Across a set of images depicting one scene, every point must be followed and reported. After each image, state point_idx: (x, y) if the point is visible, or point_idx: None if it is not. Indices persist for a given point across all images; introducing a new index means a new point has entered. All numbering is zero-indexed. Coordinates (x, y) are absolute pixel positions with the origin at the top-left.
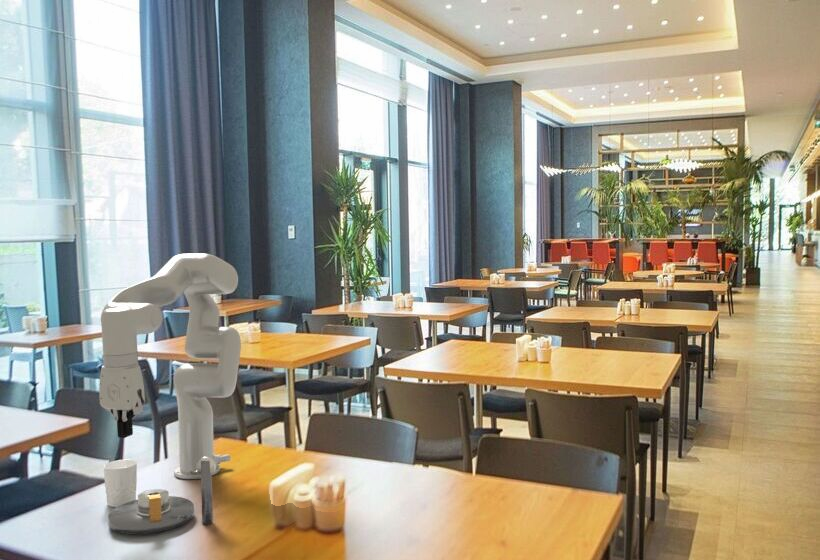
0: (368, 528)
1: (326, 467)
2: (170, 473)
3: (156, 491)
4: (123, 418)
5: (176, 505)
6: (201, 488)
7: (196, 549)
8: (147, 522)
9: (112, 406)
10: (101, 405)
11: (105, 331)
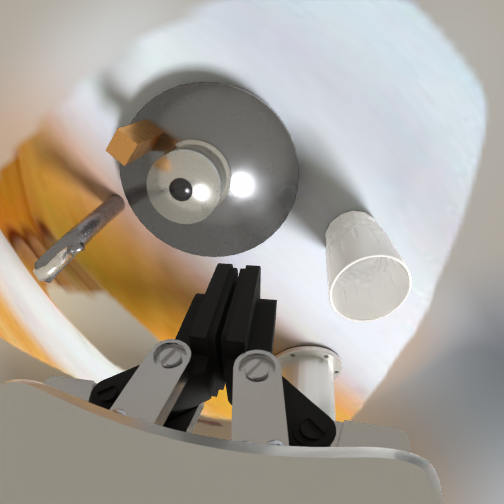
0: (4, 254)
1: None
2: (347, 356)
3: (189, 207)
4: (173, 361)
5: None
6: (81, 228)
7: (62, 117)
8: (155, 119)
9: (193, 468)
10: (409, 467)
11: None
